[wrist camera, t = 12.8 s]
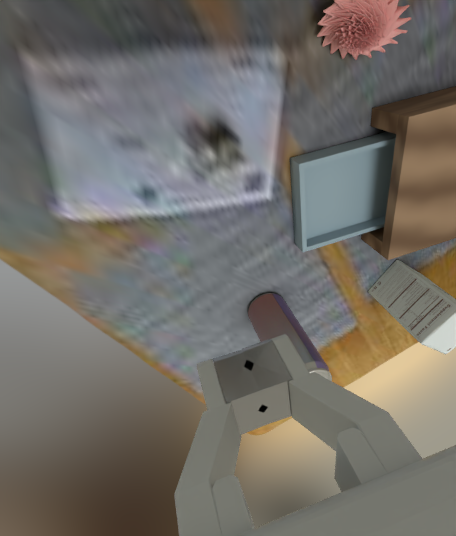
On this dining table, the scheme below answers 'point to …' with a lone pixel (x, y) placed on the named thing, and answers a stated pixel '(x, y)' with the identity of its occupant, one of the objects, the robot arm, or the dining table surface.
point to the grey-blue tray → (341, 190)
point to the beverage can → (285, 330)
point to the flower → (361, 25)
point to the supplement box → (418, 306)
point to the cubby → (418, 174)
